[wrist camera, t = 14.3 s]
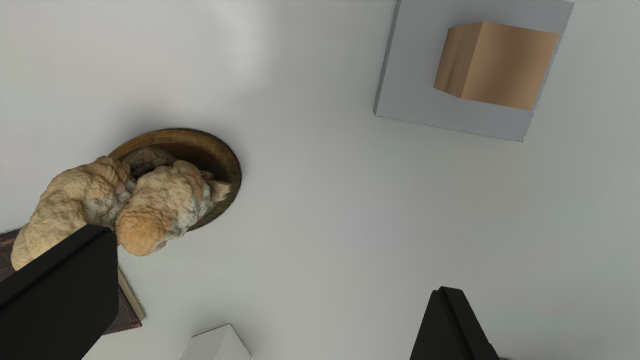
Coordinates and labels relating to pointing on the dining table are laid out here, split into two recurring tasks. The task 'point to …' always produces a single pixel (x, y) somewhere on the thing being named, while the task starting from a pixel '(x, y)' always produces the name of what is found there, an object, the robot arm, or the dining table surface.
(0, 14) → the dining table surface
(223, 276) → the dining table surface
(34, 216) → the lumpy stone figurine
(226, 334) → the milk
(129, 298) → the hardcover book
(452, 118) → the slate platform
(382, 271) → the dining table surface
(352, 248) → the dining table surface
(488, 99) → the walnut block
